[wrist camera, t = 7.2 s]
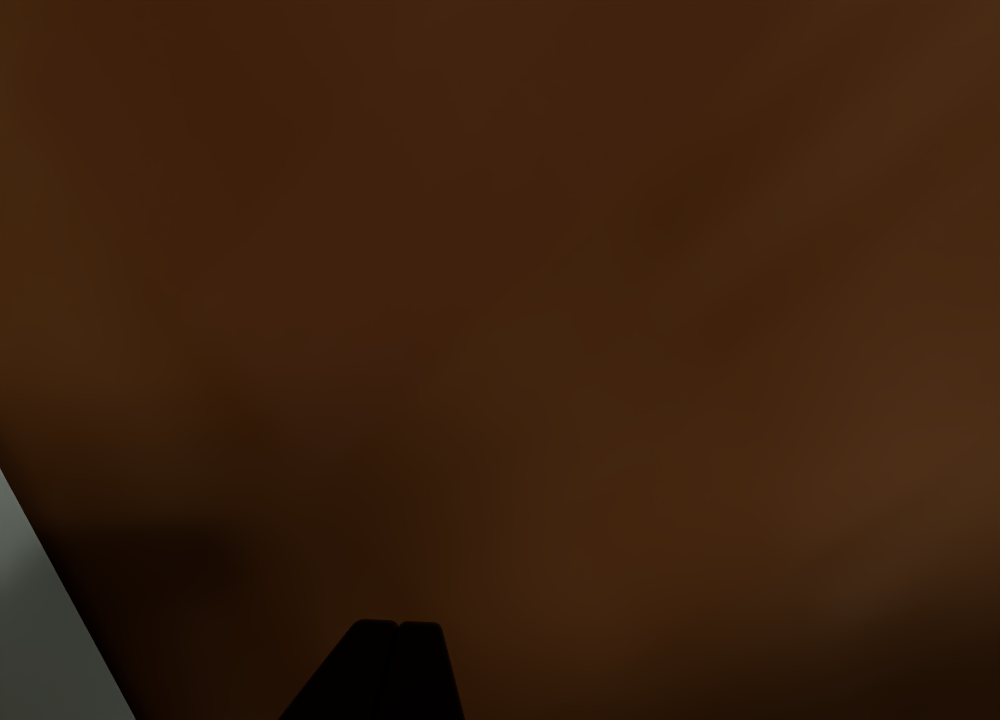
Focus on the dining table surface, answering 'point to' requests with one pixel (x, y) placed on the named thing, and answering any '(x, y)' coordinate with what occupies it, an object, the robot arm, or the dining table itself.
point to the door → (45, 636)
